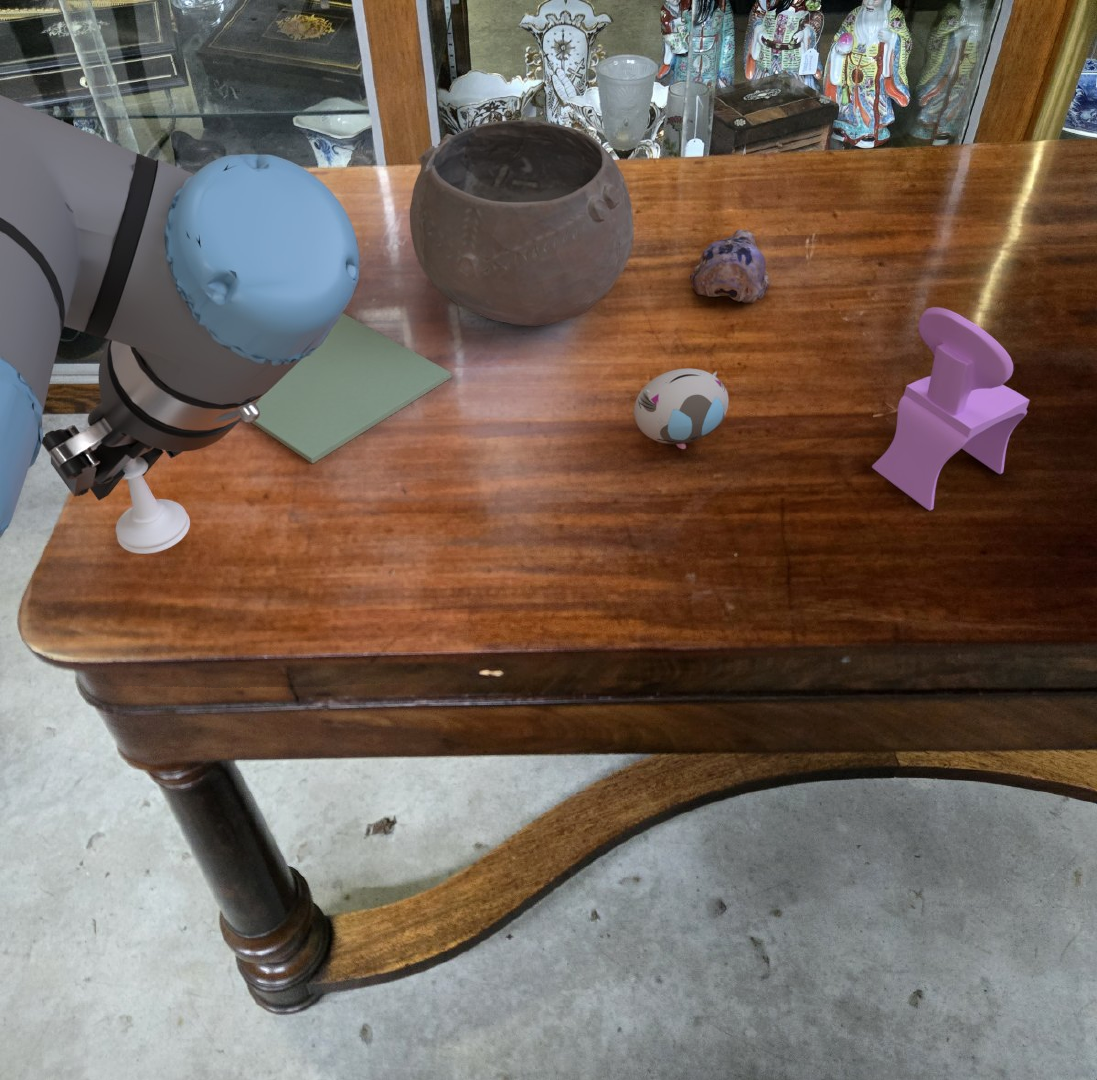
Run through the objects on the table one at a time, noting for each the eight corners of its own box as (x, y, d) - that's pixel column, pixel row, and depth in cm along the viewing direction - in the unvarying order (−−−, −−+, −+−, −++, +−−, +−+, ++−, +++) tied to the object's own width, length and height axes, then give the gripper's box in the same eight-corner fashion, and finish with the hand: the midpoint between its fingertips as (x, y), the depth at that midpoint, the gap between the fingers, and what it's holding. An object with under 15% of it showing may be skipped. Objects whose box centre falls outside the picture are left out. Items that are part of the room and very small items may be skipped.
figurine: (650, 475, 84) (654, 409, 79) (619, 432, 88) (622, 367, 83) (737, 451, 86) (747, 385, 81) (704, 410, 90) (711, 345, 85)
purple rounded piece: (717, 242, 110) (729, 190, 105) (785, 266, 108) (802, 215, 103) (675, 303, 102) (687, 250, 98) (748, 330, 101) (764, 277, 96)
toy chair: (1017, 477, 83) (1082, 315, 72) (939, 518, 80) (995, 355, 69) (938, 423, 88) (988, 265, 78) (862, 460, 85) (903, 299, 74)
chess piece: (196, 504, 74) (159, 390, 67) (181, 553, 71) (140, 438, 64) (127, 506, 74) (82, 392, 67) (108, 555, 71) (59, 440, 64)
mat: (312, 464, 86) (311, 458, 85) (187, 379, 94) (185, 374, 94) (451, 377, 94) (451, 372, 93) (324, 307, 103) (323, 302, 102)
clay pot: (664, 332, 98) (675, 181, 88) (453, 379, 94) (438, 225, 83) (583, 232, 113) (584, 91, 102) (396, 268, 108) (377, 124, 97)
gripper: (98, 500, 49) (41, 575, 69) (346, 361, 57) (232, 464, 77) (1, 364, 48) (-29, 479, 68) (268, 242, 56) (172, 377, 76)
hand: (110, 471), depth 72 cm, fingers closed on chess piece, 2 cm apart
